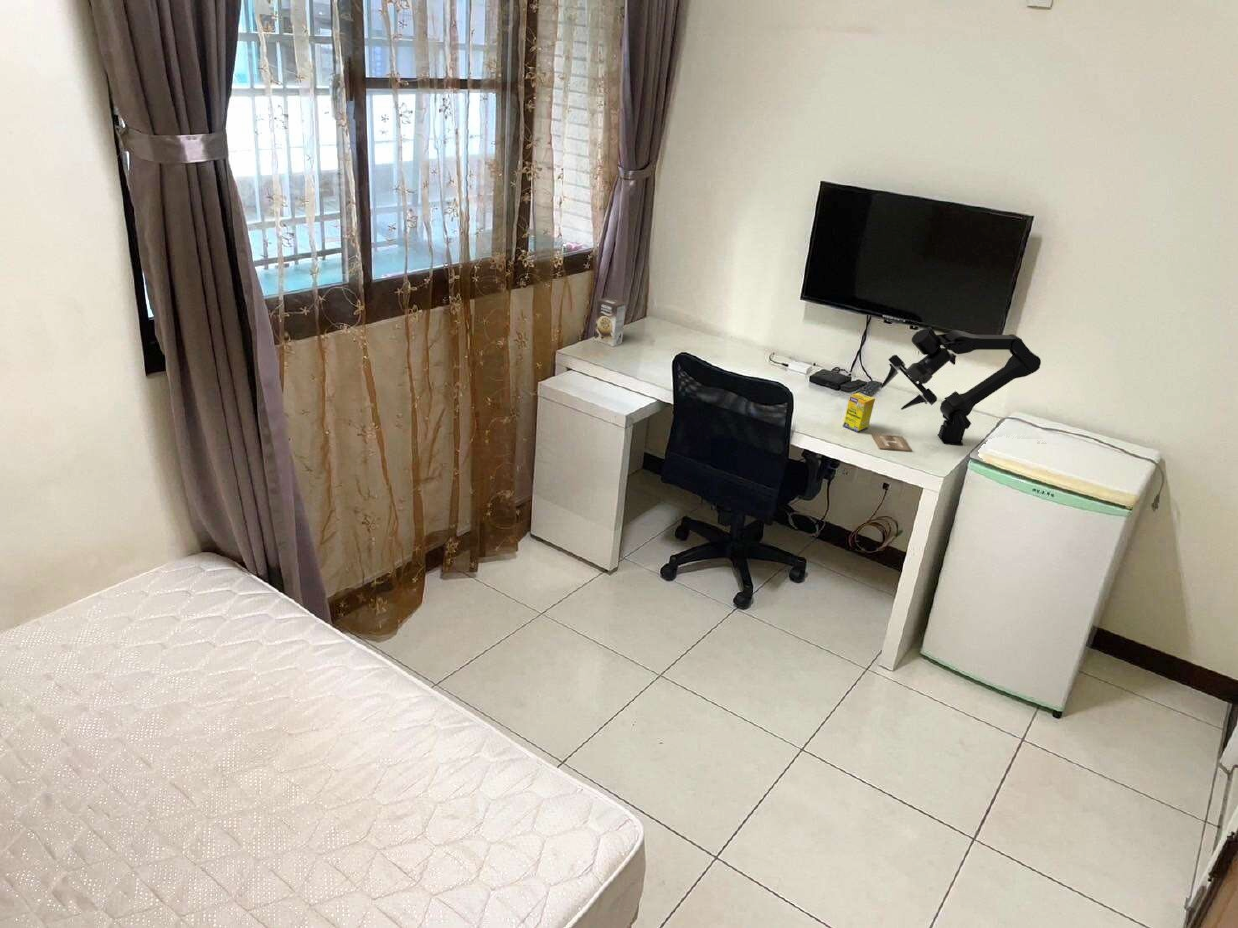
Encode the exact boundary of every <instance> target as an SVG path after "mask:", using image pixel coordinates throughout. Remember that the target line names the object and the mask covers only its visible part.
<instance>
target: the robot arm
mask: <svg viewBox="0 0 1238 928" xmlns="http://www.w3.org/2000/svg"><path fill="white" fill-rule="evenodd" d="M911 342H912V344H913V345H914V346H915V347H916V349H918V351H919V352H920V353H921V355H923V356H924V357H923V358H922V359H920V360H919V361H918V362H914V363H911V364H910V365H909V367H906V364H905V362H904V361H903V360H902V359H901V358H900V357H899V356H898V355H897V354H892V356H890V357H889V358H888V362H889V364H888V365H889V366H890V369H889V372H888V374H887V376H886V377H885V379H884V381H883V382H882V384H881V386H880V388H881V389H883V388H884V387H886V386H887V385H888V384H889V383H890V382H891V381H892V380H893V379H894V378H895V377H896V376H897V375H899V371H900V372H901V373H902V374H903V375H904V376H905V377H906V378H907V379H908V380H909V382H911V383H912V384H913V385H914V387H916V389H918V390H919V391H920V393H921V394H920V393H918V395H916V397H914V398H913V399H911V400H910V401H908V402H907V403H905V404H904V405H903V406H902V407H901V408H900V410H905V409H907V408H910V407H912V406H915V405H919V404H922V403H924V404H925V405H928V404H929V405H930V406H933V405H934V404H935V403H936V402H937V401H938V397H937V395H936V394H935V393H934V392H933V391H932V390H931V389H930V388H929V387H928V388H926V387H925V386H924V385H925V384H928V382H929V381H930V380H931V379H932V378H933V375H935V374H936V373H937V372H938V371H939V370H940V369H941V368H943V367H944V366H945V365H946V364H947V363H948V362H950V364H952V365H953V366H954V365H956V361H957V360H956V358H957V355H963V354H969V353H971V352H974V351H980V350H981V351H982V350H985V351H986V350H988V351H989V350H990V351H995V350H996V351H997V350H998V351H999V350H1001V351H1002V350H1003V351H1004V350H1006V351H1008V352H1009V353H1010V354H1011V356H1010V357H1009V358H1008V359H1007V361H1006V363H1005V365H1004V366H1003V367H1002V368H1000V369H999V370H997V371H995V372H994V373H992V374H991V375H990V376H988V377H986V378H985V379H984V380H982V381H980V382H979V383H977V384H976V385H975V386H973V387H971V388H970V389H969V390H967V391H965V392H963V393H959V392H958V391H955V390H954V391H953V392H952V393H951V394H950V395H949V396H946V397H944V400H943V401H941V403H940V406H939V410H940V413H941V414H942V418H943V419H944V420H943V422H942V424H941V425H940V429H939V431H938V433H937V437H938V438H939V440H940V441H941V442H942V444H944V445H956V446H963V445H964V442H963V437H964V435H965V431H966V430H968V429H969V428H970V427H971V425H972V422H971V421H970V419H969V418H968V416H969V415H970V414H971V412H972V410H973V409H974V407H975V406H976V405H977V404H979V403H980V402H982V401H984V400H985V399H987V398H989V396H991V395H992V394H994V393H996V392H997V391H999V390H1000V389H1001V388H1003V387H1004V386H1006V385H1007V384H1009V383H1011V382H1012V381H1014V380H1015V379H1020V378H1026V377H1028V376H1030V375H1032V374H1035V373H1036V372H1037V371H1038V370H1039V369H1040V367H1041V365H1042V363H1041V362H1042V361H1041V360H1042V359H1041V358H1040V357H1039V356H1038V355H1036V353H1034V352H1032V351H1031V350H1030V348H1029V347H1027V345H1026V344H1025V342H1024V341H1023V339H1022V338H1021V337H1019V336H1017V335H1016V334H1012V333H1010V334H974V333H969V332H966V331H962V330H958V329H953V330H951V329H950V330H949V331H948V332H946V333H940V334H936V332H935V330H934V329H933V328H932V327H931V326H928V327H927V328H923V329H921V330H919V331H917V332H915V333H914V334H913V335H912V337H911ZM941 346H942V347H941ZM950 351H951V352H953V353H951V352H950ZM956 354H957V355H956Z"/></svg>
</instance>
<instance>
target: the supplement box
mask: <svg viewBox="0 0 1238 928" xmlns="http://www.w3.org/2000/svg"><path fill="white" fill-rule="evenodd" d="M875 400H876V399H875V397H872V396H869V395H867V394H865V393H862V392H860V391H859V392H856V393H854V394H851V395H850V396H849V399H848V403H847V407H846V412H845V415H844V420H843V424H842V426H843V428H846V429H848V430H850V431H853V432H855V433H856V434H857V433H858V434H859V433H861V432H863V431H865V430H868V429H869V425H870V422H871V421H870V420H871V416H872V413H873V408H874V405H875V402H876V401H875Z"/></svg>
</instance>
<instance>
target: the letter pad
mask: <svg viewBox="0 0 1238 928" xmlns="http://www.w3.org/2000/svg"><path fill="white" fill-rule="evenodd" d="M870 436H871V437H872V440H873V441H874V442H875V444H876V446H877V448H878V449H879V450H884V451H895V452H906V453H907V452H909V453H912V449H911V447H910V445H909V444H908V443H907V441H906V439H905V438H904V436H903V435H891V434H879V433H871V434H870Z"/></svg>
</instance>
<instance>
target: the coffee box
mask: <svg viewBox="0 0 1238 928" xmlns="http://www.w3.org/2000/svg"><path fill="white" fill-rule="evenodd" d="M626 307H627V303H626V302H624V301H620V300H618V299H615V298H610V297H607V296H606V297H603V298H600V299H598V300H597V307H596V308H597V309H596V319H595V330H594V341H596V342H598V343H601V344H604V345H607V346H610V347H615V346H618V345H621V344H622V343H623V335H624V325H625V316H626V309H627V308H626Z"/></svg>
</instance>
